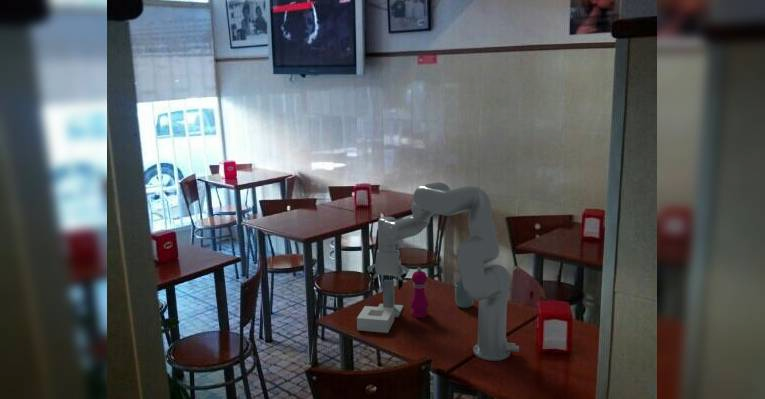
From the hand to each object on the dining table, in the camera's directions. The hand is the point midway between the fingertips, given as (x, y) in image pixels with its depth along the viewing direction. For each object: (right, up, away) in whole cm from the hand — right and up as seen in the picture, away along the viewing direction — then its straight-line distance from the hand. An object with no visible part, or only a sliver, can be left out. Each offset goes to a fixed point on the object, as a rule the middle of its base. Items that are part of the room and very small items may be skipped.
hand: (388, 287), depth 237 cm
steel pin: (0, -9, +2) cm, 9 cm away
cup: (+32, -9, +6) cm, 34 cm away
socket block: (-5, -13, -11) cm, 17 cm away
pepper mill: (+13, -11, -2) cm, 17 cm away
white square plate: (0, -10, +2) cm, 10 cm away
